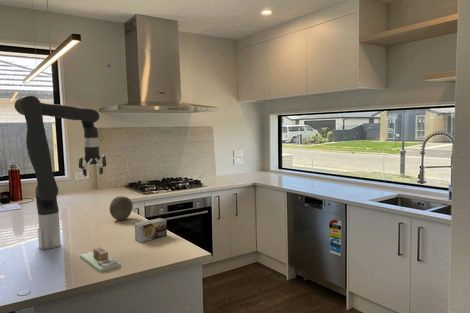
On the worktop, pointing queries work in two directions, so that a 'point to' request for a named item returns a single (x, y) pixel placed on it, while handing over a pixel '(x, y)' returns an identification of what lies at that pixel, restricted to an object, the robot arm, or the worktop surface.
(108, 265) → the tall wooden post
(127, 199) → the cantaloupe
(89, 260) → the board
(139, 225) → the coffee box
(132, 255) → the worktop surface
